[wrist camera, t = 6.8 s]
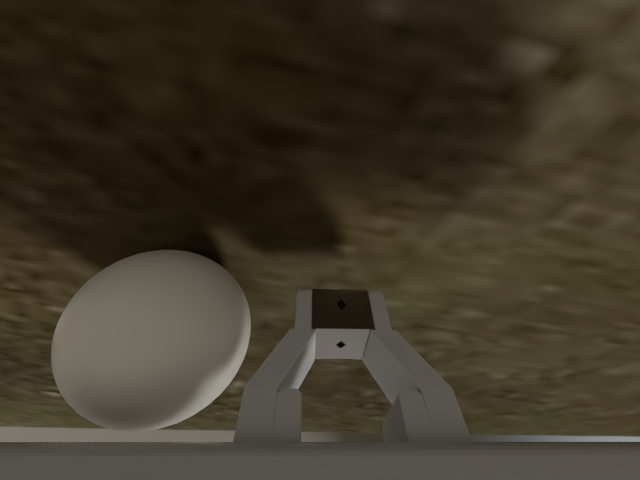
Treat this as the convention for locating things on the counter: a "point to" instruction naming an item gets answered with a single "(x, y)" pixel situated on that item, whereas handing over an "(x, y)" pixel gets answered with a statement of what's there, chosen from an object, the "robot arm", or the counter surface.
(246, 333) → the ivory ball
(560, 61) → the counter surface
